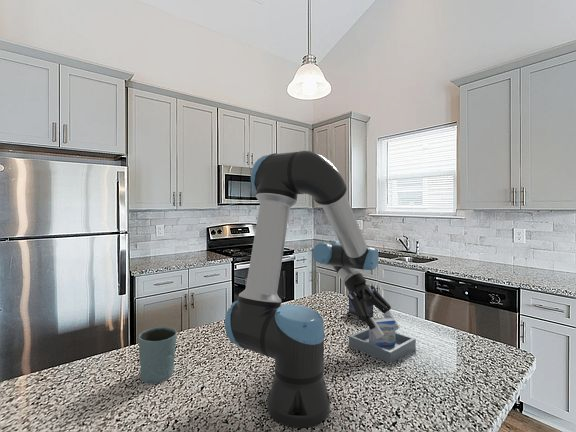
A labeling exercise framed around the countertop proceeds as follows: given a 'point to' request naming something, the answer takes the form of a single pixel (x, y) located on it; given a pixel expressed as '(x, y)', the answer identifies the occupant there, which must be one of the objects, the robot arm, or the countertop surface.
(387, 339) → the medicine box
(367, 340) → the grey tray
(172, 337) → the teal cup
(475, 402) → the countertop surface
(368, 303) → the small box
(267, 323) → the robot arm
